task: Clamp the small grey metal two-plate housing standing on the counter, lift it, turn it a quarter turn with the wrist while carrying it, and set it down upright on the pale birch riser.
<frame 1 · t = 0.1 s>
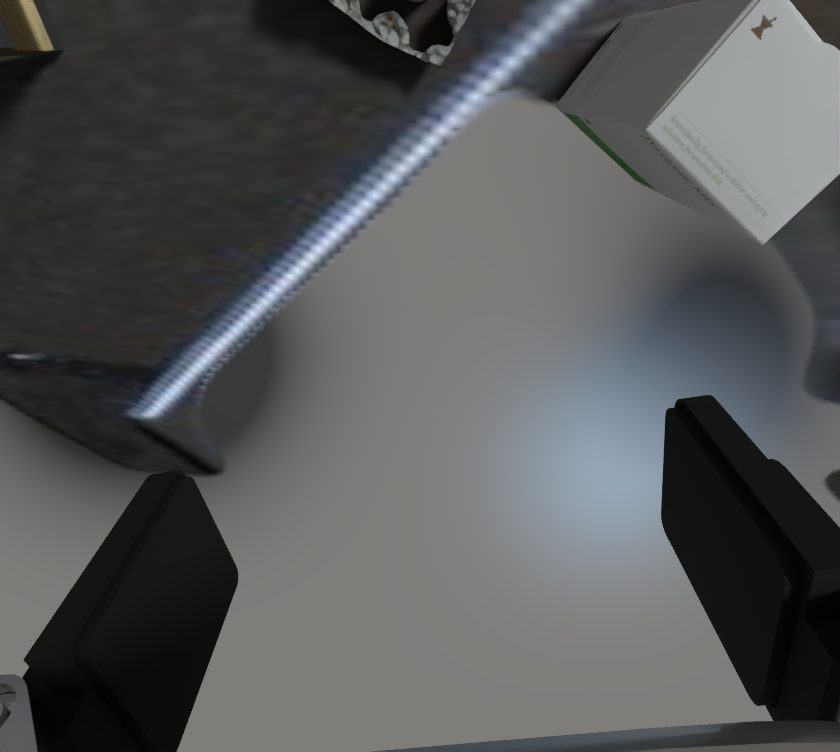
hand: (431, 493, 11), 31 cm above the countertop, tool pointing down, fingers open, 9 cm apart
skincare box: (634, 103, 36), on the countertop
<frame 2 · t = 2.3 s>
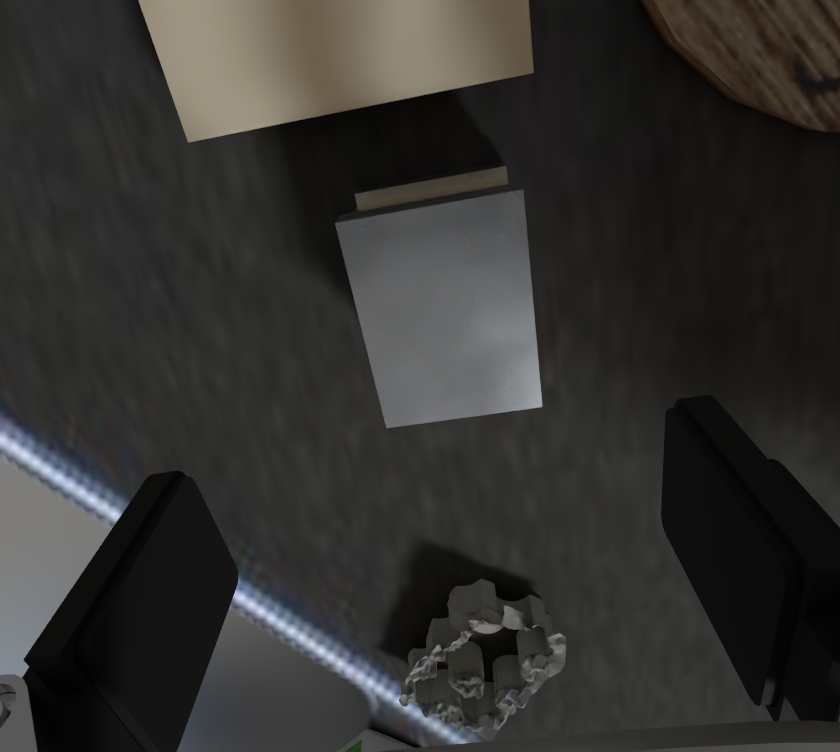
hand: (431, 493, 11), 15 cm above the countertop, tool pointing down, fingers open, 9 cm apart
housing: (444, 268, 24), on the countertop
egg carton: (477, 631, 37), on the countertop
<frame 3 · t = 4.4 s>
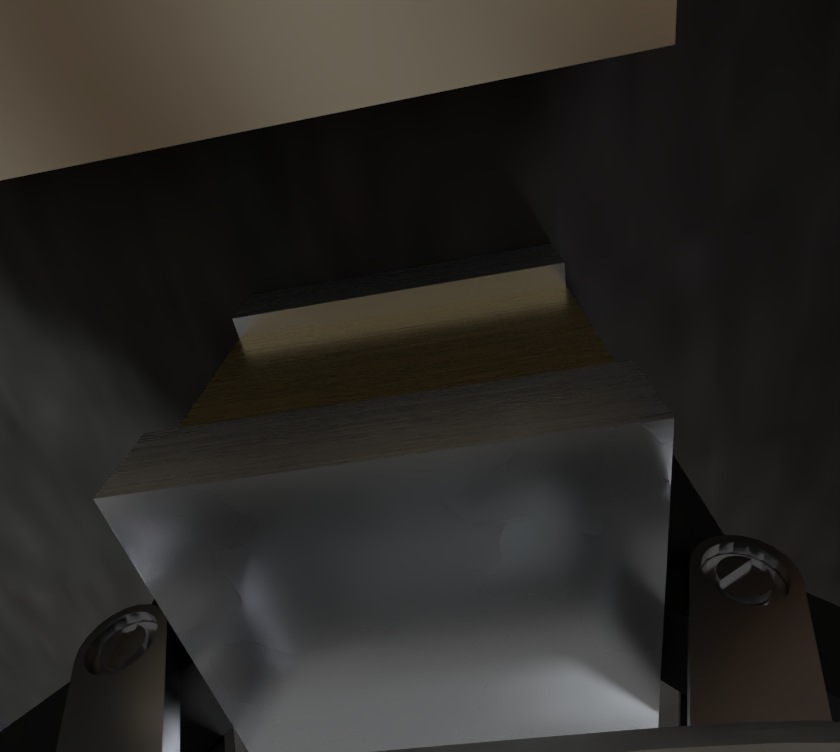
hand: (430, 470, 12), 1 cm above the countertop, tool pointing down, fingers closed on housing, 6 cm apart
housing: (431, 434, 13), on the countertop, touching gripper
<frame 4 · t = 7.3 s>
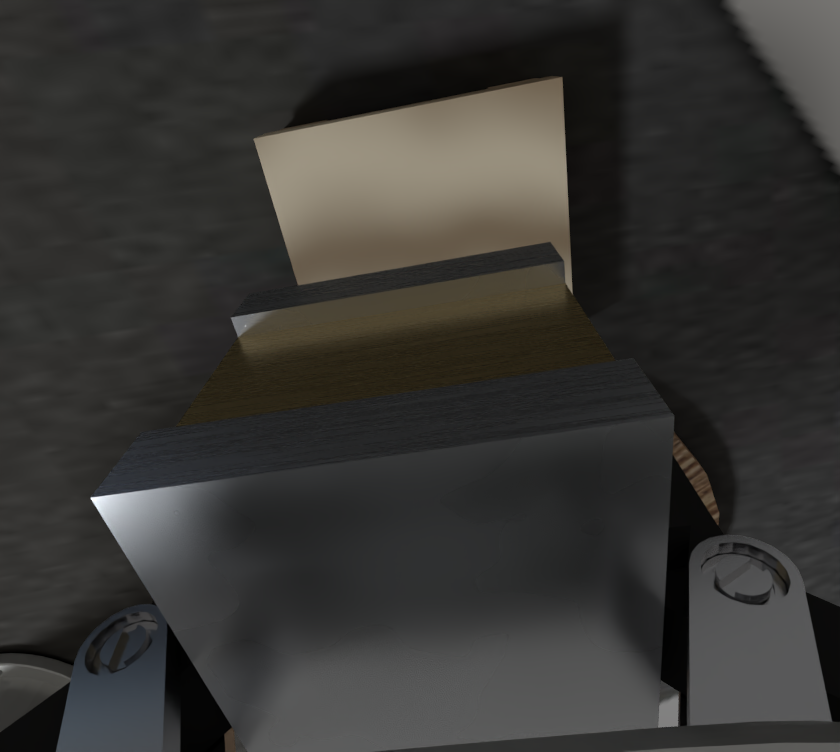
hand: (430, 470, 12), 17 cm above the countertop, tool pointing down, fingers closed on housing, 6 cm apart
riser: (429, 240, 27), on the countertop
trivet: (511, 535, 37), on the countertop
housing: (430, 434, 13), point 16 cm above the countertop, touching gripper
when the fingers open (5 cm above the countertop, at t = 10.3 s): housing stays where it is, resting on riser.
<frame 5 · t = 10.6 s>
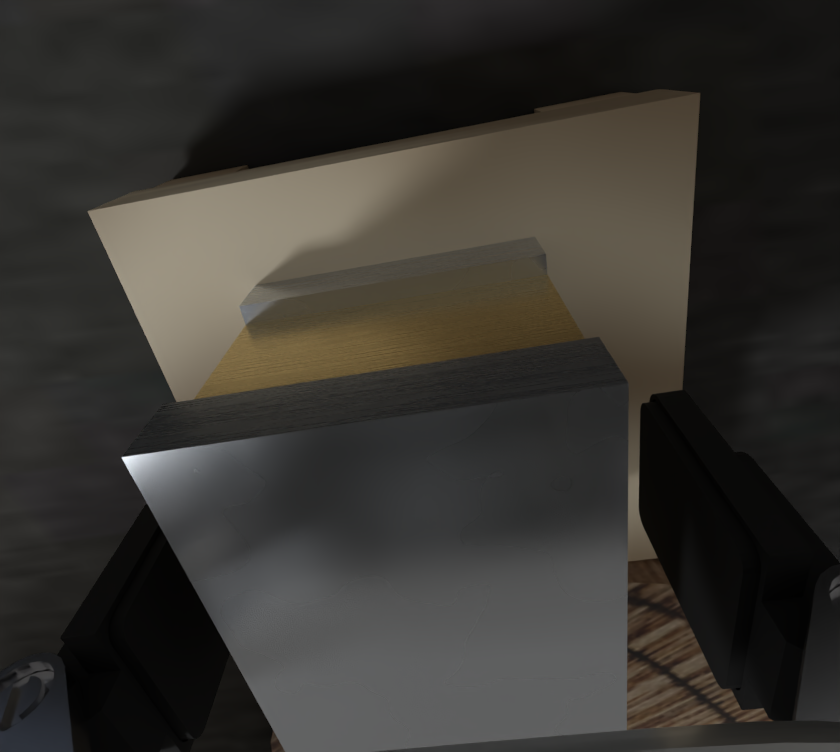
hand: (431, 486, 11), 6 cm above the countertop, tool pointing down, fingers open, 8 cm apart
riser: (429, 357, 16), on the countertop
trivet: (543, 723, 26), on the countertop
housing: (424, 417, 14), point 3 cm above the countertop, touching riser
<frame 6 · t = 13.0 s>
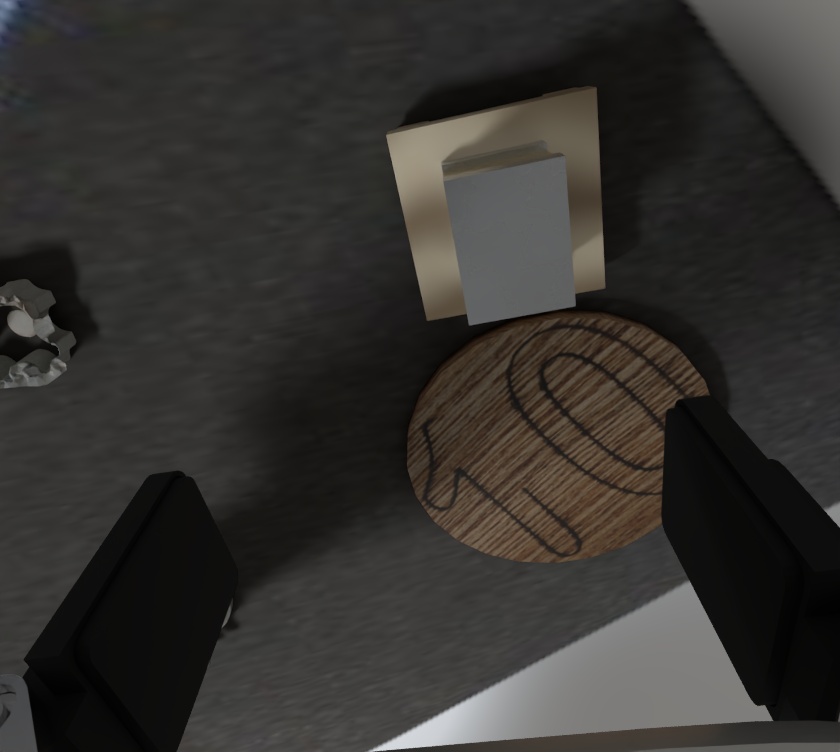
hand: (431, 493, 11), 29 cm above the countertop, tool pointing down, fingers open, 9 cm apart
riser: (497, 205, 37), on the countertop
trivet: (553, 441, 47), on the countertop
housing: (500, 218, 34), point 3 cm above the countertop, touching riser
egg carton: (7, 326, 42), on the countertop
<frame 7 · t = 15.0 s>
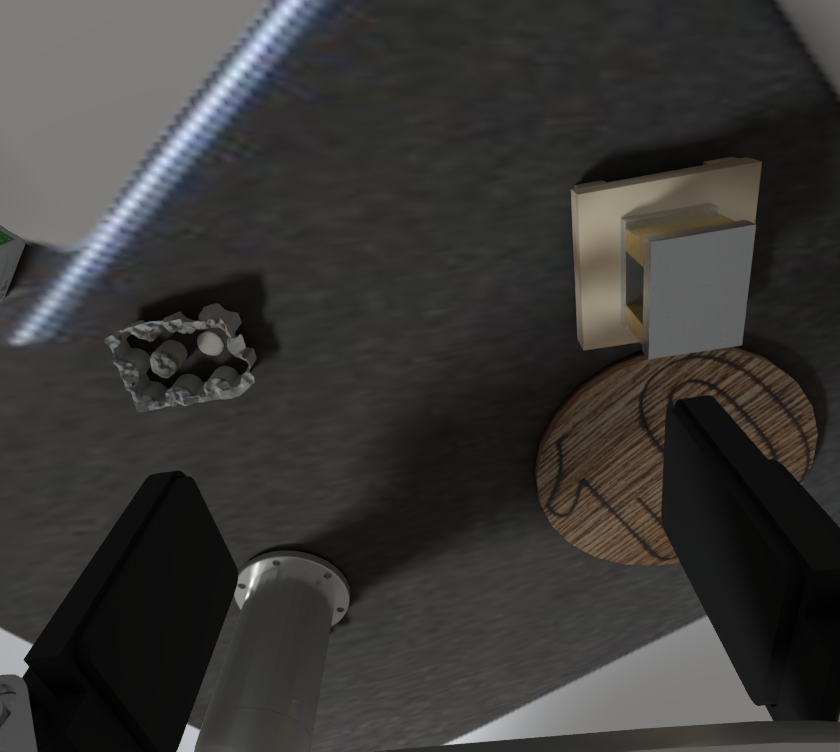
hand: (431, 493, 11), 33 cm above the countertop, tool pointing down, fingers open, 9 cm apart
riser: (650, 252, 42), on the countertop
trivet: (664, 456, 53), on the countertop
housing: (662, 266, 40), point 3 cm above the countertop, touching riser
egg carton: (195, 347, 47), on the countertop
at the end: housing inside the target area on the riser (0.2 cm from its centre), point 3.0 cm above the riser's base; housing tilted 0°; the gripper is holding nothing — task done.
